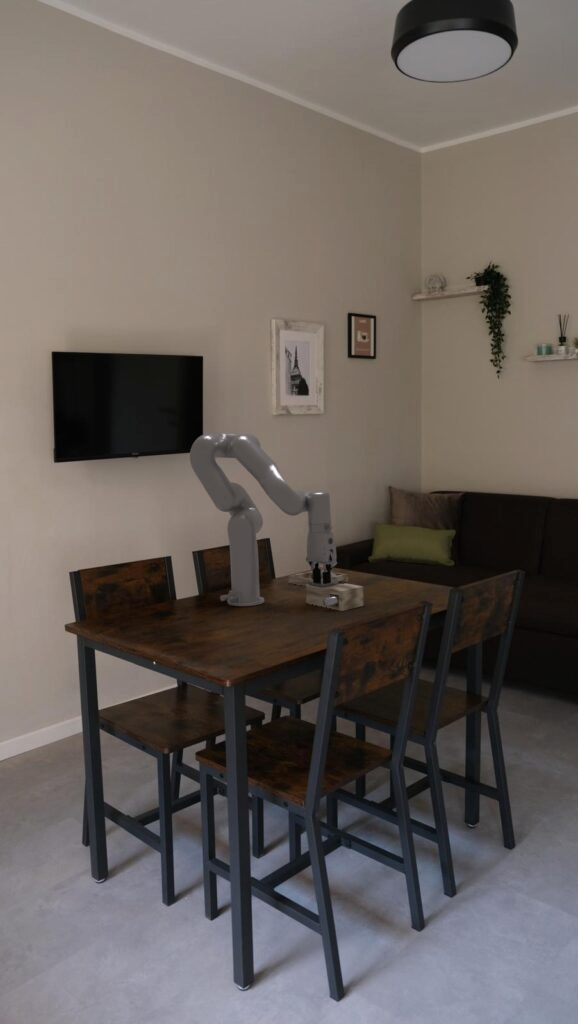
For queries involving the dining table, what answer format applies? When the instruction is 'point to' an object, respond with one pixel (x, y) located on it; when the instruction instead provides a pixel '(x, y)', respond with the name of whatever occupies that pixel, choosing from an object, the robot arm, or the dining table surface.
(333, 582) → the flap
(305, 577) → the coaster frame
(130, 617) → the dining table surface
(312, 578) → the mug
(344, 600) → the block
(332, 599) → the pin
